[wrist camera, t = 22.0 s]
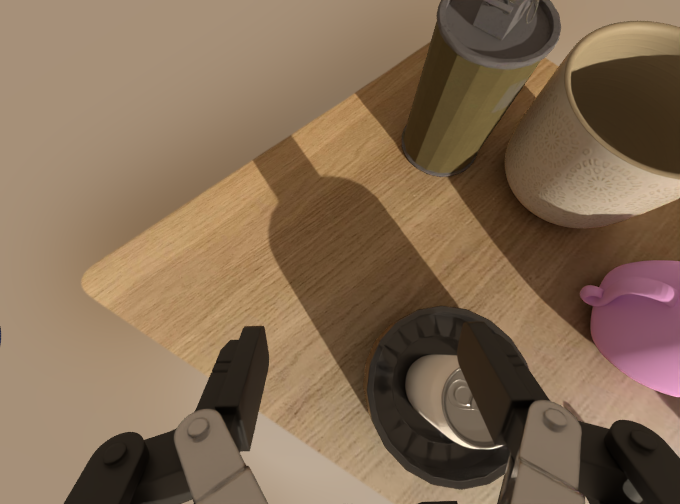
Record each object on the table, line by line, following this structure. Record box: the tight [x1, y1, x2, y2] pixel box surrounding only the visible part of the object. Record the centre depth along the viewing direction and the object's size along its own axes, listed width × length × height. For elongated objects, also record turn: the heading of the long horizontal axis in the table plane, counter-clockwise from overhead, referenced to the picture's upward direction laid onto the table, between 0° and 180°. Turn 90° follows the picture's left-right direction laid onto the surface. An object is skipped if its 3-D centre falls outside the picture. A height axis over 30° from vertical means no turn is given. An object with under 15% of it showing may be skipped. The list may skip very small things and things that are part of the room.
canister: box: [402, 0, 561, 177], centre depth 34 cm, size 11×10×20 cm
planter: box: [505, 21, 680, 228], centre depth 34 cm, size 17×17×15 cm
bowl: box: [363, 306, 529, 489], centre depth 32 cm, size 15×15×6 cm
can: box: [405, 355, 502, 449], centre depth 28 cm, size 6×6×12 cm
